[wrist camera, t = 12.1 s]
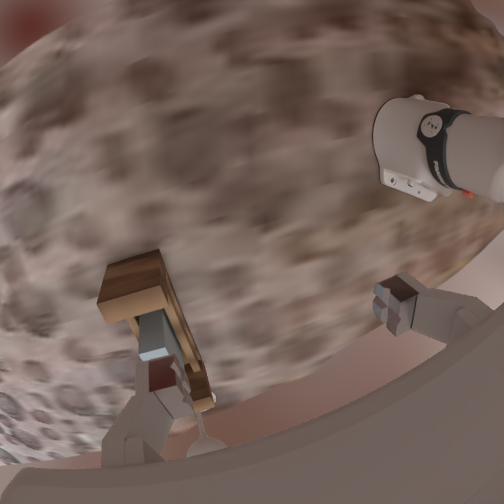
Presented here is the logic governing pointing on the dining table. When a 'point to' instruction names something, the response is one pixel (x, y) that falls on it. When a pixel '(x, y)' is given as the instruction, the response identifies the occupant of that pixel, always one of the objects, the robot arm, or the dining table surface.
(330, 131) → the dining table surface
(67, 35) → the dining table surface
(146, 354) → the door panel
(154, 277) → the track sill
